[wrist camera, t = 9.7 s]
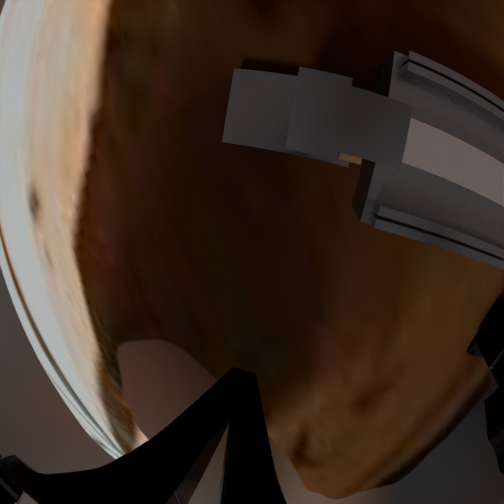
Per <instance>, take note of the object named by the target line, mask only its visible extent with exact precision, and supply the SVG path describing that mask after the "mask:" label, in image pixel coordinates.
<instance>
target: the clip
mask: <svg viewBox="0 0 504 504" xmlns="http://www.w3.org/2000/svg"><path fill="white" fill-rule="evenodd" d="M352 79H353V78H350V77H346V76H342V75H338V74H334V73H330V72H325V71H320V70H316V69H310V68H305V67H299V73H298V78H297V84H296V90H295V95H294V101H293V107H292V112H291V118H290V123H289V129H288V134H287V139H286V145H285V149H289V150H294V151H299V152H303V153H308V154H312V155H317V156H321V157H325V158H329V159H333V160H337V159H338V155H339V152H341V153H344V154H348V155H352V156H355V157H359V158H362V159H366V160H369V161H373V162H376V163H379V164H382V165H385V166H389V167H392V168H395V169H398V170H400V168H401V164H402V159H403V155H404V150H405V146H406V141H407V136H408V131H409V125H410V120H411V114H412V108H413V106H411V105H408V104H406V103H403V102H400V101H398V100H395V99H392V98H389V97H386V96H383V95H380V94H377V93H374V92H371V91H367V90H364V89H360V88H357V87H353V86H352Z"/></svg>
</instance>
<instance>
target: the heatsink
mask: <svg viewBox="0 0 504 504" xmlns="http://www.w3.org/2000/svg"><path fill="white" fill-rule="evenodd" d="M376 93H377V94H380V95H383V96H386V97H389V98H392V99H395V100H398V101H400V102H403V103H406V104H408V105H411V106H413V108H412V114H411V118H413V119H415V120H418V121H420V122H423V123H425V124H427V125H430V126H432V127H434V128H437V129H439V130H441V131H443V132H445V133H448V134H450V135H452V136H454V137H456V138H458V139H460V140H462V141H464V142H466V143H468V144H470V145H472V146H473V147H475V148H477V149H479V150H481V151H483V152H484V153H486V154H488V155H489V156H491V157H493V158H495V159H496V160H498V161H499V162H501V163H503V164H504V101H503V100H501V99H500V98H498V97H497V96H495V95H494V94H492V93H491V92H489V91H488V90H486V89H485V88H483V87H481V86H480V85H478V84H476V83H475V82H473V81H471V80H470V79H468V78H466V77H464V76H462V75H461V74H459V73H457V72H455V71H453V70H451V69H449V68H447V67H445V66H443V65H441V64H439V63H437V62H435V61H433V60H430V59H428V58H426V57H424V56H421V55H419V54H416V53H414V52H412V51H408V52H407V53H406V54H405V55H404V54H401V53H399V52H396V51H394V52H393V53H392V54H391V55H390V56H389V57H388V58H387V59H386V60H385V61H384V62H383V63H382V64H381V65H380V70H379V77H378V84H377V91H376ZM338 159H341V160H345V161H349V162H352V163H356V164H359V165H361V161H362V158H359V157H355V156H352V155H348V154H344V153H341V152H339V155H338ZM352 207H353V209H354V210H355V212H356V214H357V216H358V218H359V220H360V221H361V222H365V223H369V224H372V226H373V227H374V228H376V229H380V230H383V231H387V232H390V233H394V234H397V235H401V236H404V237H407V238H411V239H414V240H417V241H421V242H424V243H427V244H430V245H434V246H437V247H440V248H443V249H446V250H449V251H452V252H455V253H458V254H461V255H464V256H467V257H470V258H473V259H476V260H479V261H481V262H484V263H487V264H490V265H493V266H495V267H498V268H501V269H503V270H504V207H503V206H501V205H499V204H497V203H495V202H494V201H492V200H490V199H488V198H486V197H484V196H482V195H480V194H478V193H475V192H473V191H471V190H469V189H467V188H465V187H463V186H460V185H458V184H456V183H454V182H451V181H449V180H447V179H444V178H442V177H439V176H437V175H434V174H432V173H429V172H427V171H424V170H421V169H419V168H416V167H413V166H411V165H408V164H405V163H402V164H401V168H400V170H398V169H395V168H392V167H389V166H385V165H382V164H379V163H376V162H373V161H369V160H366V159H363V163H362V167H361V172H360V176H359V180H358V184H357V188H356V192H355V196H354V200H353V204H352Z"/></svg>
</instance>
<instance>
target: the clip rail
mask: <svg viewBox="0 0 504 504" xmlns="http://www.w3.org/2000/svg"><path fill="white" fill-rule="evenodd" d="M297 78H298V76H293V75H287V74H280V73H273V72H265V71H256V70H246V69H234V74H233V79H232V85H231V91H230V96H229V102H228V108H227V115H226V121H225V127H224V134H223V140H222V142H226V143H233V144H239V145H246V146H252V147H258V148H263V149H269V150H274V151H279V152H284V153H289V154H294V155H299V156H303V157H308V158H312V159H316V160H320V161H325V162H329V163H333V164H337V165H340V166H344V167H349V163H350V162H349V161H345V160H341V159H337V160H333V159H329V158H325V157H321V156H317V155H312V154H308V153H303V152H299V151H294V150H289V149H285V145H286V139H287V134H288V129H289V123H290V118H291V112H292V107H293V101H294V95H295V90H296V84H297Z"/></svg>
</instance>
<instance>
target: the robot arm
mask: <svg viewBox="0 0 504 504" xmlns="http://www.w3.org/2000/svg"><path fill="white" fill-rule="evenodd" d="M467 352H468V354H469V355H470V356H481V357H484V359H485V361H486V363H487V365H488V367H489V369H490V370H491V372H492V374H493V376H494V378H495V380H496V382H497V384H499V387H498V388H497V389H496V391H495V392H494V393H493V394H492V395H491V396H490V397H488V398H487V399H486V400H485V401H484V403H485V411H486V422H487V434H488V440H489V442H490V443H491V445H492V446H493V448H494V451H495V453H496V456H497V460H498V465H499V470H500V472H501V473H502V474H504V300H502V299H499V300H498V301H497V302H496V303H495V305H494V307H493V309H492V311H491V312H490V314H489V316H488V318H487V319H486V321H485V323H484V325H483V326H482V328H481V329H480V331H479V333H478V334H477V336H476V337H475V339H474V341H473V342H472V344H471V345H470V347H469V348H468V350H467ZM229 421H230V423H229ZM228 424H229V427H228ZM227 427H228V433H227V439H226V445H225V451H224V457H223V463H222V469H221V475H220V481H219V487H218V493H217V499H216V504H287V503H286V501H285V498H284V496H283V493H282V491H281V488H280V485H279V482H278V479H277V475H276V471H275V467H274V463H273V458H272V456H271V455H272V453H271V449H270V443H269V438H268V433H267V428H266V423H265V418H264V413H263V408H262V402H261V397H260V392H259V387H258V381H257V376H256V374H255V373H253V372H249V371H243V370H241V369H238V368H231V369H230V370H229V371H228V372H227V373H226V374H225V375H224V376H223V377H222V378H221V379H219V380H218V381H217V382H216V383H215V384H214V385H213V386H212V387H211V388H210V389H209V390H208V391H207V392H206V393H204V394H203V395H202V396H201V397H200V398H199V399H198V400H196V401H195V402H194V403H193V404H192V405H191V406H190V407H188V408H187V409H186V410H185V411H184V412H183V413H182V414H180V415H179V416H178V417H177V418H176V419H175V420H173V421H172V422H171V423H170V424H169V427H168V426H166V427H165V428H164V429H163V430H161V431H160V432H159V433H158V434H156V435H155V436H154V437H152V438H151V439H150V440H148V441H147V442H145V443H144V444H142V445H140V446H139V447H137V448H136V449H134V450H132V451H130V452H128V453H127V454H125V455H123V456H121V457H119V458H118V459H116V460H114V461H112V462H110V463H108V464H106V465H104V466H101V467H98V468H95V469H90V470H83V471H75V472H65V473H54V474H42V473H38V472H37V471H36V470H34V469H33V468H32V467H30V466H29V465H28V464H27V463H25V462H24V461H23V460H22V459H21V458H19V457H18V456H16V455H9V456H5V457H2V456H1V454H0V504H188V502H189V501H190V499H191V497H192V495H193V493H194V491H195V490H196V488H197V486H198V483H199V482H200V480H201V478H202V477H203V475H204V473H205V471H206V469H207V467H208V465H209V463H210V461H211V459H212V457H213V455H214V453H215V451H216V449H217V447H218V445H219V443H220V441H221V439H222V437H223V435H224V433H225V431H226V429H227Z"/></svg>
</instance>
